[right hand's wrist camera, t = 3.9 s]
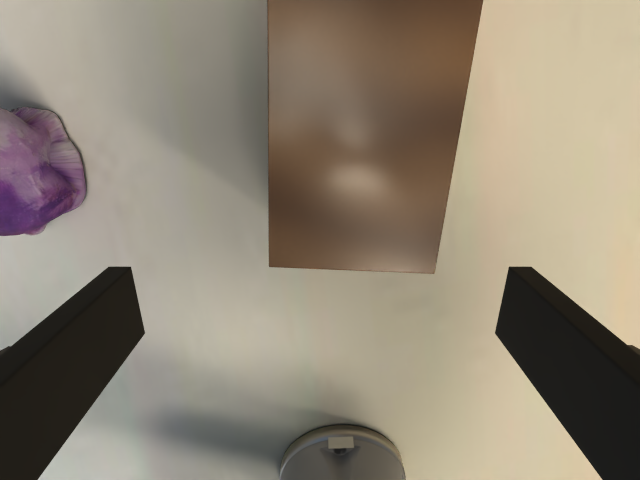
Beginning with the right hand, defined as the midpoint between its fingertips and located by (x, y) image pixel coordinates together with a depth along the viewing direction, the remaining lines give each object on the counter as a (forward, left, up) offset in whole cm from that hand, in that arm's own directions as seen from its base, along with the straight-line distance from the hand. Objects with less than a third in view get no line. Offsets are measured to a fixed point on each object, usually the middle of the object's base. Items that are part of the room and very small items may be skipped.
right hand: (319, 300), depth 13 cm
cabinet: (+2, -6, -21) cm, 22 cm away
